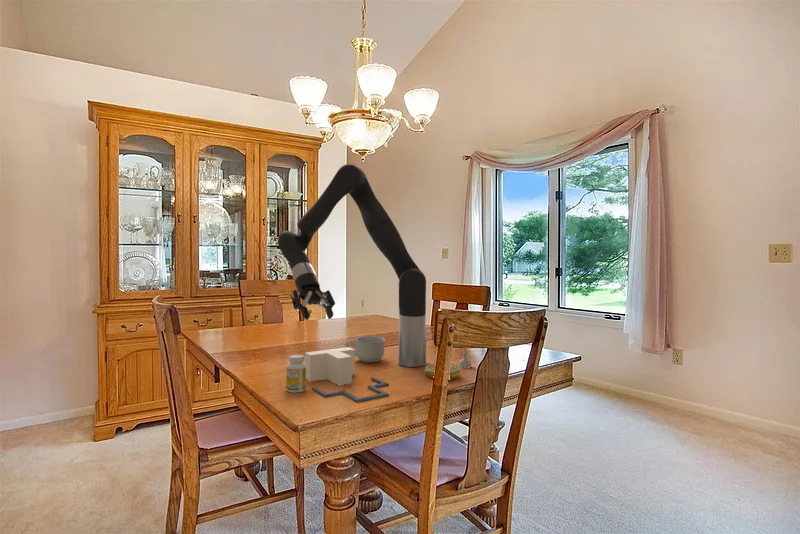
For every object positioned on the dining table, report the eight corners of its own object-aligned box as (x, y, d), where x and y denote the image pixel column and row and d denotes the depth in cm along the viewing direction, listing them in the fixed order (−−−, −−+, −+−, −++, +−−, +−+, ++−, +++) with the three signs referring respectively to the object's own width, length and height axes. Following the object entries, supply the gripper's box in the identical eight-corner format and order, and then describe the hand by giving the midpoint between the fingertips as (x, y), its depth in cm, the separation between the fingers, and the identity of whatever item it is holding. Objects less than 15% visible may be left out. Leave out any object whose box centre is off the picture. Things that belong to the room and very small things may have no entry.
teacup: (386, 357, 166) (386, 336, 166) (382, 364, 155) (382, 341, 155) (349, 356, 167) (349, 335, 167) (343, 363, 156) (343, 340, 156)
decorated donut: (435, 371, 149) (435, 359, 149) (465, 376, 143) (465, 364, 143) (419, 378, 140) (419, 366, 140) (450, 383, 134) (450, 371, 134)
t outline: (312, 389, 126) (312, 387, 126) (373, 378, 138) (374, 376, 138) (338, 406, 113) (338, 403, 113) (404, 392, 125) (404, 390, 125)
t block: (304, 378, 137) (305, 352, 137) (348, 371, 146) (348, 347, 145) (321, 388, 127) (322, 360, 127) (367, 380, 136) (367, 354, 136)
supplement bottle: (291, 394, 122) (291, 359, 121) (282, 389, 126) (283, 355, 125) (309, 390, 125) (309, 356, 125) (300, 386, 129) (300, 353, 129)
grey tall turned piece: (471, 370, 149) (472, 316, 149) (452, 367, 152) (452, 315, 152) (477, 365, 156) (478, 313, 155) (458, 363, 159) (459, 312, 158)
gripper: (290, 271, 146) (304, 312, 138) (328, 272, 156) (343, 310, 147) (281, 285, 151) (295, 325, 142) (319, 285, 160) (333, 323, 152)
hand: (319, 318), depth 145 cm, fingers open, 8 cm apart
